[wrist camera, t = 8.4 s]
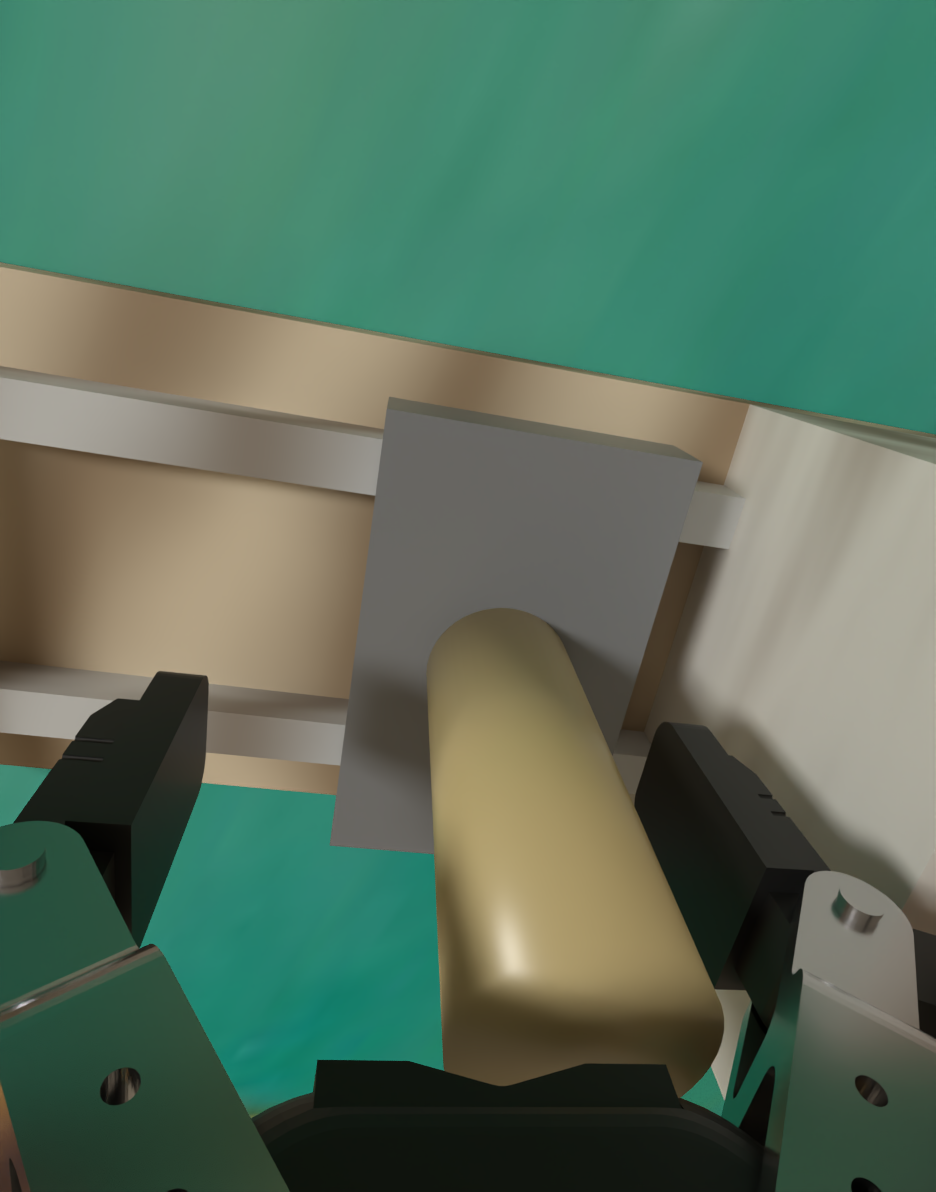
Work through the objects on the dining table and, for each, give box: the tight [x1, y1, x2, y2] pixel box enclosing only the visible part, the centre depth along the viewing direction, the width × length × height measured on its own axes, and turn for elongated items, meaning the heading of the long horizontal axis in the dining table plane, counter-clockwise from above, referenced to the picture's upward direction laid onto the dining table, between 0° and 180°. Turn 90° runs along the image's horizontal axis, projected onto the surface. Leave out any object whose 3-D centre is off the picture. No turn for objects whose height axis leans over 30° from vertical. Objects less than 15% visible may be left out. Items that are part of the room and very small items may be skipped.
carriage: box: [330, 397, 724, 1098], centre depth 12 cm, size 6×10×10 cm, turn 170°
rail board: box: [0, 262, 936, 1100], centre depth 14 cm, size 28×12×10 cm, turn 80°
